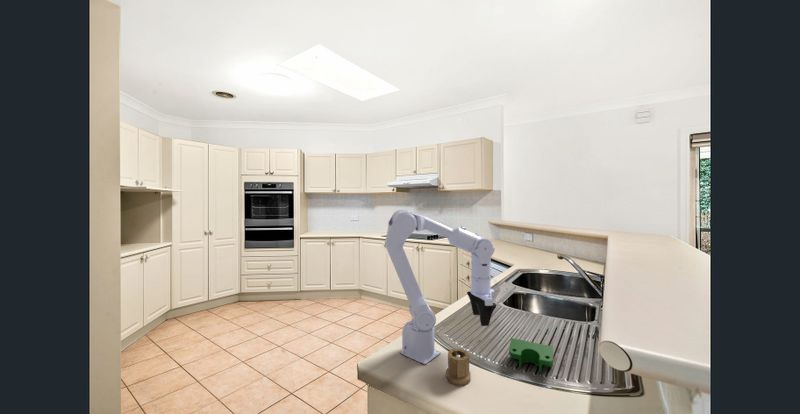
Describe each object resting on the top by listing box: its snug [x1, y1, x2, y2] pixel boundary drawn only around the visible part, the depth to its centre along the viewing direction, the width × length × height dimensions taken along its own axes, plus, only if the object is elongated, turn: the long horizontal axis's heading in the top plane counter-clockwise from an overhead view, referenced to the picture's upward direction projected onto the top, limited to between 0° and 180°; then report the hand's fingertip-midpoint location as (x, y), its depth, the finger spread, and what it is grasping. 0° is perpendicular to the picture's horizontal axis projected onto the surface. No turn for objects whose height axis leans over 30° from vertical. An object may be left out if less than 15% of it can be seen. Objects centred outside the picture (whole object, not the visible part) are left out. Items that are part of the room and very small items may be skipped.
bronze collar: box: [447, 348, 470, 379], centre depth 80 cm, size 5×5×5 cm
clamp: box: [508, 337, 554, 374], centre depth 85 cm, size 12×6×9 cm, turn 55°
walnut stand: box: [445, 367, 471, 387], centre depth 80 cm, size 6×6×2 cm
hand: (480, 319), depth 94 cm, fingers open, 7 cm apart
